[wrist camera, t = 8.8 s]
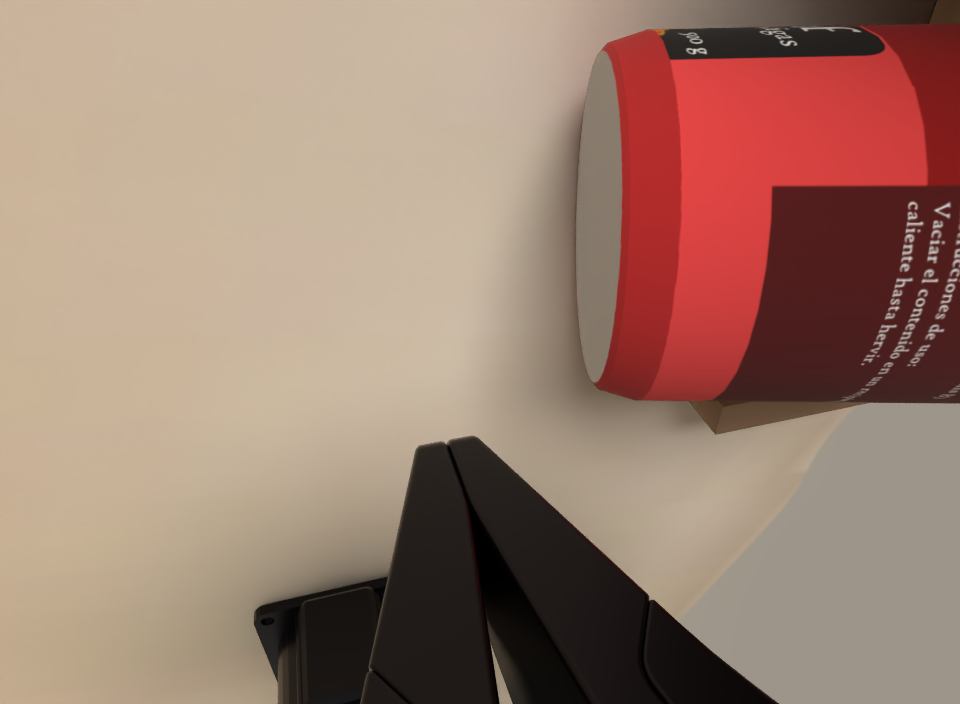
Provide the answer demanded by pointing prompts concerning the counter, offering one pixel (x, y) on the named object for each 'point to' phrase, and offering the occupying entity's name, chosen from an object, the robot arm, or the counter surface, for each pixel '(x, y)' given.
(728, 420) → the tan bone-shaped block
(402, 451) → the counter surface
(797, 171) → the canned food
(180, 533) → the counter surface
